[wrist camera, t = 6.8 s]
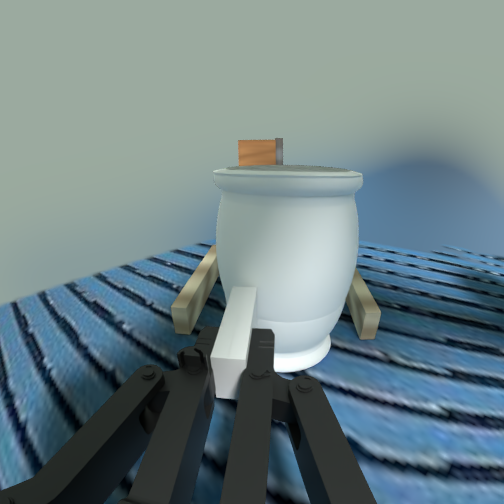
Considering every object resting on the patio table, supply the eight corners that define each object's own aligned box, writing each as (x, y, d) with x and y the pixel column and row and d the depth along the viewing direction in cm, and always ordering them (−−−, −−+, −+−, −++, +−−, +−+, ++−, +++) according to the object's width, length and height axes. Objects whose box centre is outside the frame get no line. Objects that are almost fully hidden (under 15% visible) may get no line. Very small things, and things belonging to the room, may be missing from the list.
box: (374, 338, 24) (402, 136, 17) (175, 333, 25) (153, 134, 19) (341, 266, 40) (348, 141, 34) (214, 263, 42) (208, 140, 36)
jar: (236, 396, 18) (224, 174, 13) (216, 320, 28) (206, 166, 22) (362, 364, 21) (395, 176, 15) (312, 305, 30) (321, 165, 25)
